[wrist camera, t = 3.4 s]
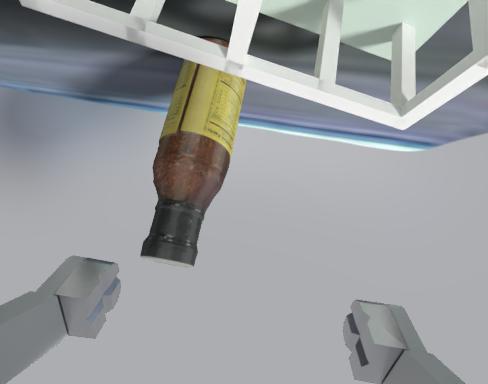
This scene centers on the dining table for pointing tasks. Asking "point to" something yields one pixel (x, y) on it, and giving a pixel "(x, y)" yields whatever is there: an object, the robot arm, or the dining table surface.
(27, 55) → the dining table surface
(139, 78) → the dining table surface
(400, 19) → the dish rack
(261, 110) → the dining table surface
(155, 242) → the sauce bottle
